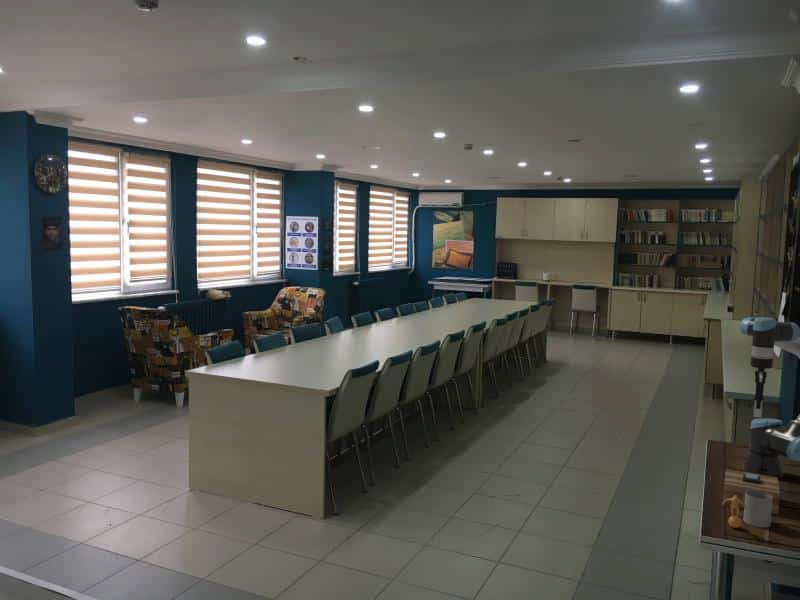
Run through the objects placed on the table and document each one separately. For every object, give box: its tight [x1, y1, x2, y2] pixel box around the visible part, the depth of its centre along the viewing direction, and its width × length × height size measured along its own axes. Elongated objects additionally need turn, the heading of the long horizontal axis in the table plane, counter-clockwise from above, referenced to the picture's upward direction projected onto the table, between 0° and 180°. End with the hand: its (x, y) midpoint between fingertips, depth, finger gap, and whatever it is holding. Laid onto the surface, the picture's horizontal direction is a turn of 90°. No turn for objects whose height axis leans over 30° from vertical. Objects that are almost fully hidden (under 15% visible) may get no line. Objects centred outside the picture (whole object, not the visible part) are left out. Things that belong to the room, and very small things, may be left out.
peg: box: [746, 474, 758, 480], centre depth 253 cm, size 4×4×8 cm
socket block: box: [722, 468, 781, 515], centre depth 253 cm, size 18×18×9 cm
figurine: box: [721, 495, 749, 529], centre depth 229 cm, size 8×6×12 cm
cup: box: [742, 490, 773, 528], centre depth 234 cm, size 8×8×10 cm
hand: (757, 416), depth 264 cm, fingers closed
